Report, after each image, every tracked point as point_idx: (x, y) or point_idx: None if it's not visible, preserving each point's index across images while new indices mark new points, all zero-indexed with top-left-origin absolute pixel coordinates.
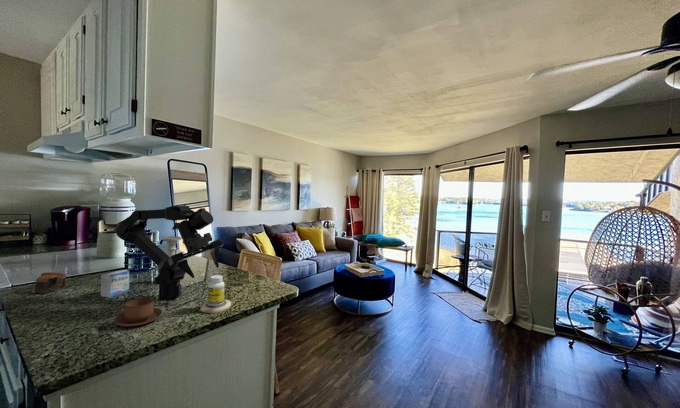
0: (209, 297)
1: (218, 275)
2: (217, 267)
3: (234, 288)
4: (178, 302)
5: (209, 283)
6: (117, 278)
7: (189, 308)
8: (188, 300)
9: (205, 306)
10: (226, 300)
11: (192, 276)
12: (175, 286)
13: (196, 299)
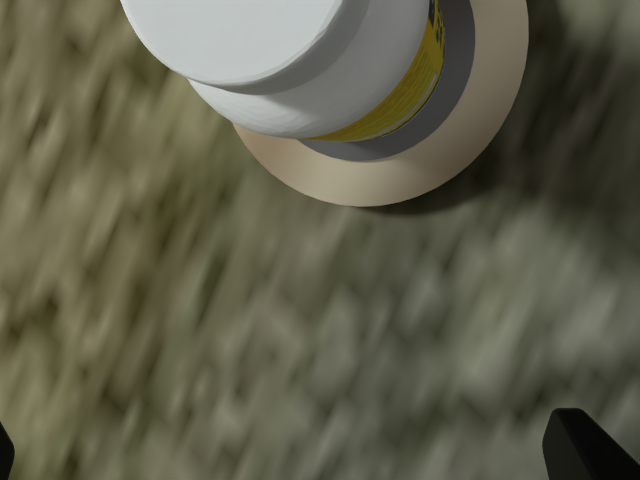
0: (438, 3)
1: (159, 34)
2: (2, 429)
3: (40, 420)
4: None
5: (388, 38)
6: None
7: (578, 225)
8: (484, 448)
9: (474, 60)
10: None
11: (604, 431)
12: None
13: (413, 415)
